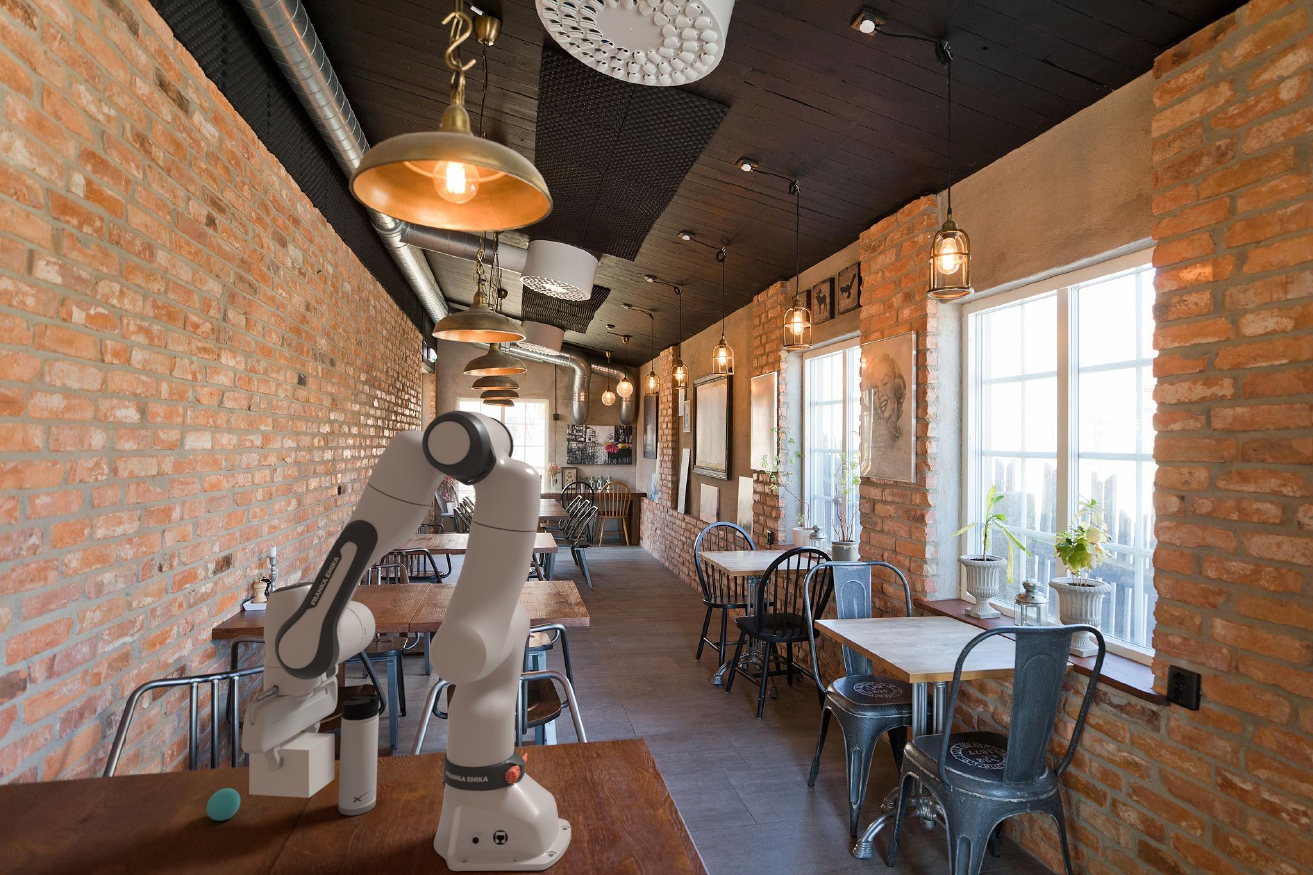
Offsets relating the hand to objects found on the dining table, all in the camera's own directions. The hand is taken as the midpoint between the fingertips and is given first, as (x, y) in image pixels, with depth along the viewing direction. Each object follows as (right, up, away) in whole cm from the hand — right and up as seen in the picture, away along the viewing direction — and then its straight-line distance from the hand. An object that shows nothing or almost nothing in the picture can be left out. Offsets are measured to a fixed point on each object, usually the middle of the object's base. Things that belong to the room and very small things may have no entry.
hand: (292, 758), depth 119 cm
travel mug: (+9, -12, +6) cm, 16 cm away
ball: (-13, -9, +2) cm, 16 cm away
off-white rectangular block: (0, -5, 0) cm, 5 cm away
